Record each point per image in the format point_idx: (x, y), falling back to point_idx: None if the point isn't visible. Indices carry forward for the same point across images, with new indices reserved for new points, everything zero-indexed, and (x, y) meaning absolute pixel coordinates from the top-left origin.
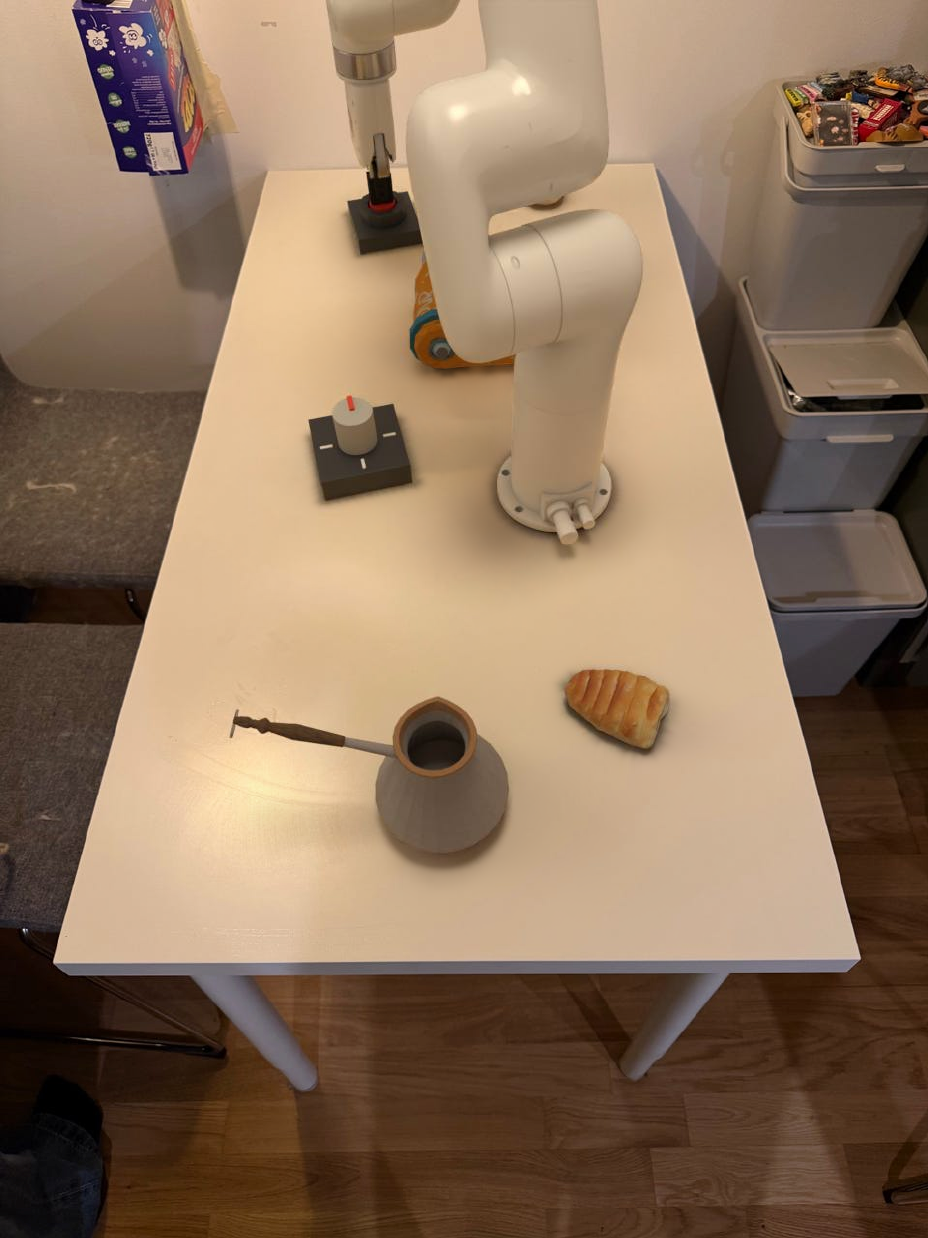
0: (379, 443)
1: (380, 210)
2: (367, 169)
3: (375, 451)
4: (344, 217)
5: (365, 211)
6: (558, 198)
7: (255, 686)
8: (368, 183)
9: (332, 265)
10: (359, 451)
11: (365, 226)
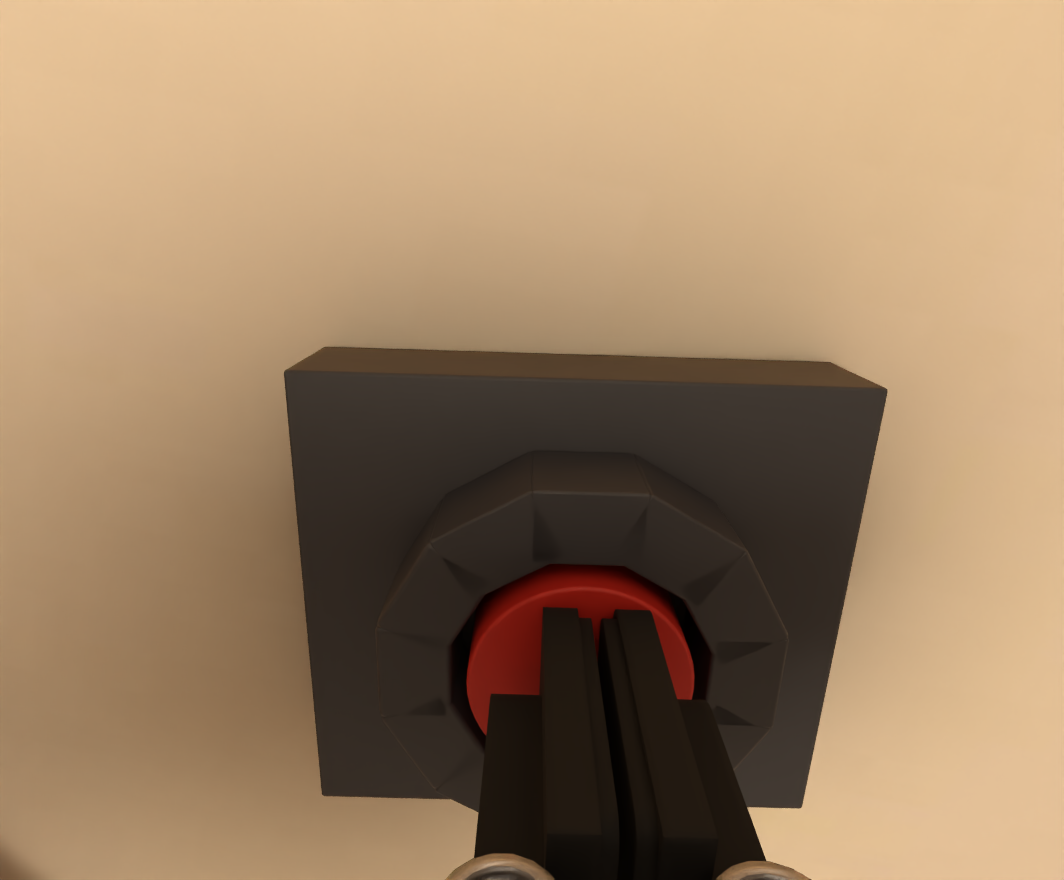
0: None
1: (474, 642)
2: (730, 878)
3: None
4: (819, 321)
5: (486, 526)
6: None
7: None
8: (579, 749)
9: (229, 104)
10: None
11: (461, 460)
